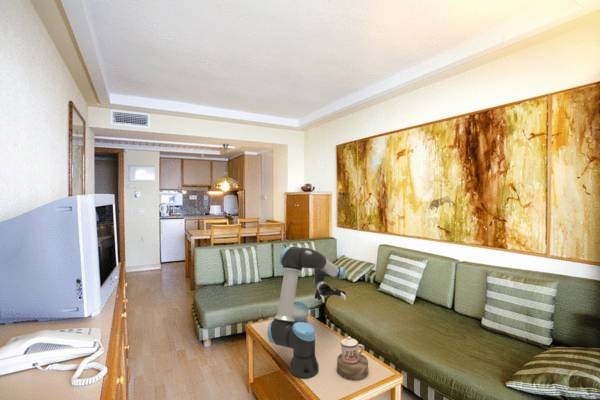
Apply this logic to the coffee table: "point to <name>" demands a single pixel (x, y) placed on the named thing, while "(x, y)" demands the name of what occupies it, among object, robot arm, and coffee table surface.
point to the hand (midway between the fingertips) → (334, 299)
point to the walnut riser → (353, 368)
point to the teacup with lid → (350, 350)
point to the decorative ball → (300, 312)
